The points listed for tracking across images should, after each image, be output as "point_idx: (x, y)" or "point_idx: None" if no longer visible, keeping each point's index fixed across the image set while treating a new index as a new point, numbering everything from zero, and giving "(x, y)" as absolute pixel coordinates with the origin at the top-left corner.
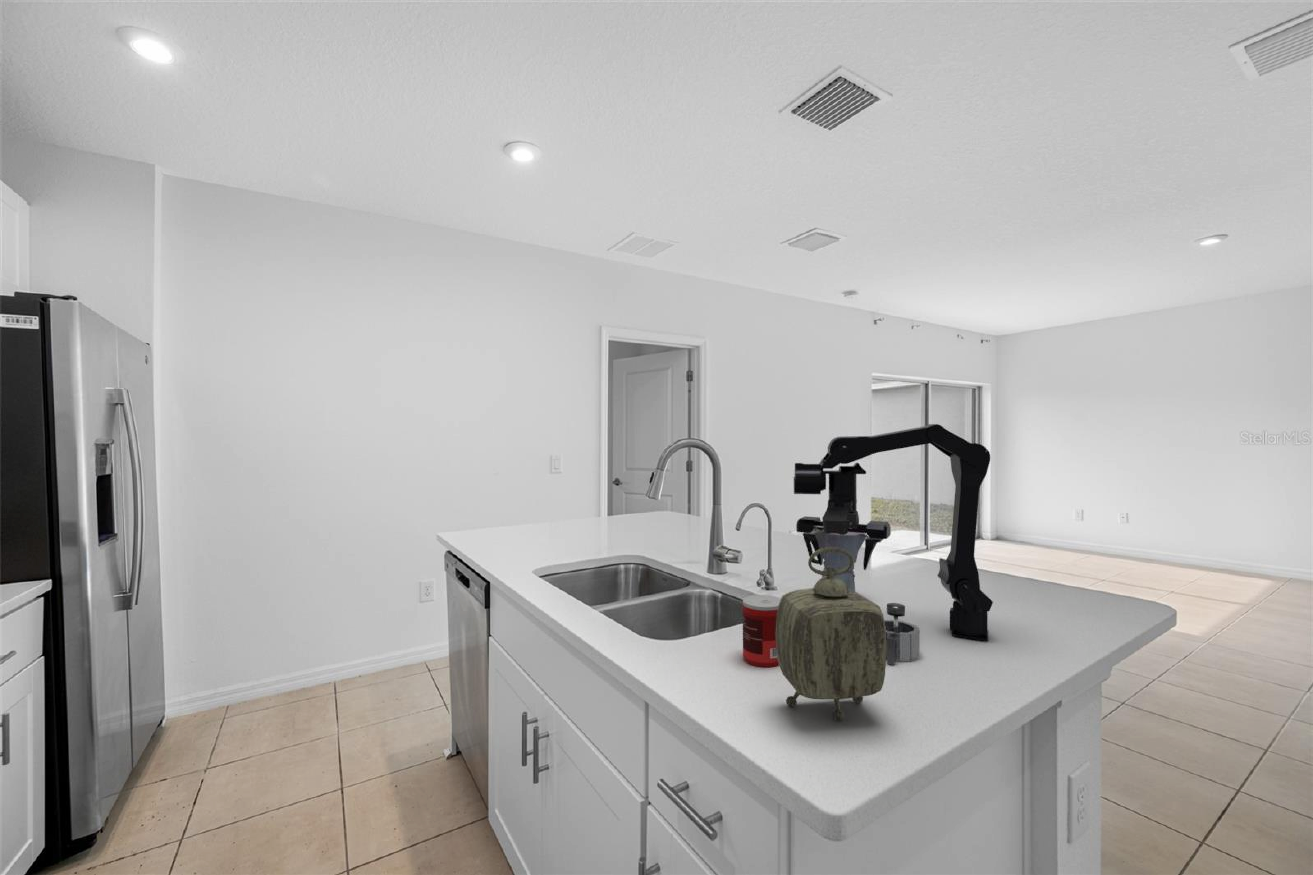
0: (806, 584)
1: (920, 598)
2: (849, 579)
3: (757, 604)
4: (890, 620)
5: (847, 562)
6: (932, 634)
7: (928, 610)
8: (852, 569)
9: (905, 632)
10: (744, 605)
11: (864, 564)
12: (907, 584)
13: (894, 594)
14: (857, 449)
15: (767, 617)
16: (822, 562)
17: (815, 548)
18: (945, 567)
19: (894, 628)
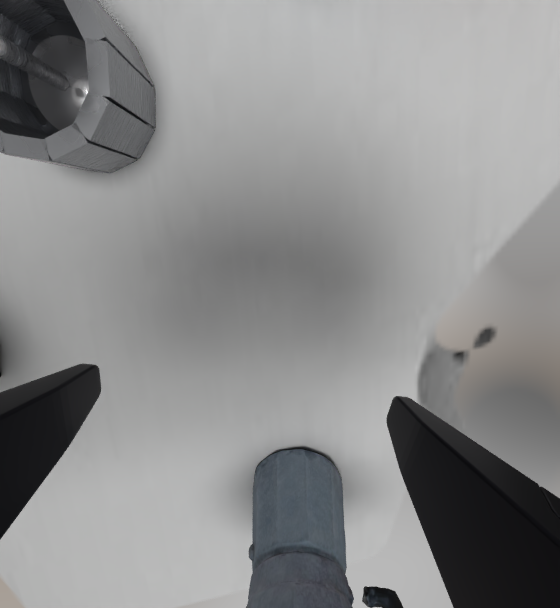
0: (370, 549)
1: (120, 536)
2: (263, 529)
3: None
4: (56, 148)
5: (267, 598)
6: (35, 308)
7: (87, 471)
8: (253, 574)
9: (23, 132)
10: None
11: (58, 382)
12: (162, 602)
13: (177, 543)
14: None
15: None
16: (392, 426)
17: (555, 506)
18: None
19: (18, 46)
